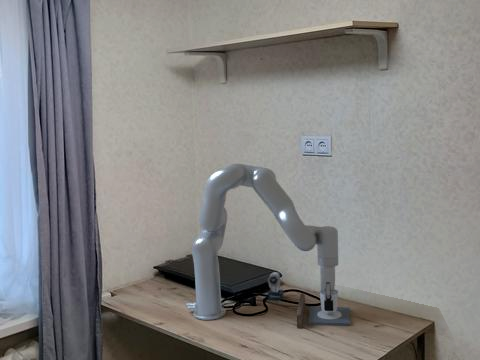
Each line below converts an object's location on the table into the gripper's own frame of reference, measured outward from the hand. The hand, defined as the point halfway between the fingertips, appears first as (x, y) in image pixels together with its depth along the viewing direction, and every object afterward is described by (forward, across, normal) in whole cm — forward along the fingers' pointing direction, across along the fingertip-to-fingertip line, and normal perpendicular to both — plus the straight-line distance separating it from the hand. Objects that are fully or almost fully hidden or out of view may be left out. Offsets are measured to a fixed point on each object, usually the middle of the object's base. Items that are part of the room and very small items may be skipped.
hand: (329, 306), depth 200 cm
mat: (+4, 0, 0) cm, 4 cm away
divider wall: (+4, 0, -10) cm, 11 cm away
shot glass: (+1, 0, 0) cm, 1 cm away
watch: (+4, -18, -22) cm, 29 cm away
